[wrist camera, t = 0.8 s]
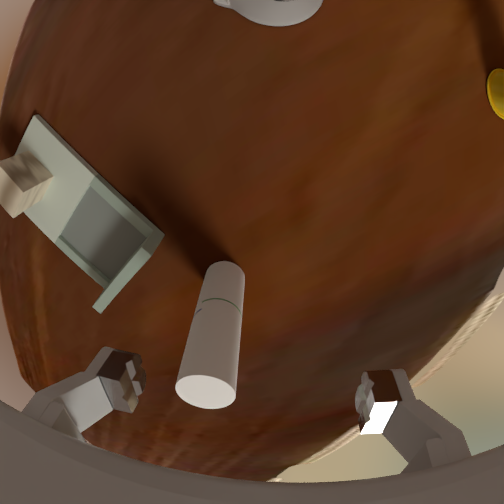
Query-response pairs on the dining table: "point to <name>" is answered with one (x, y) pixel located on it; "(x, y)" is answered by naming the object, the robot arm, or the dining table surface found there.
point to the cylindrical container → (214, 340)
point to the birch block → (22, 182)
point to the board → (88, 215)
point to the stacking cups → (496, 91)
